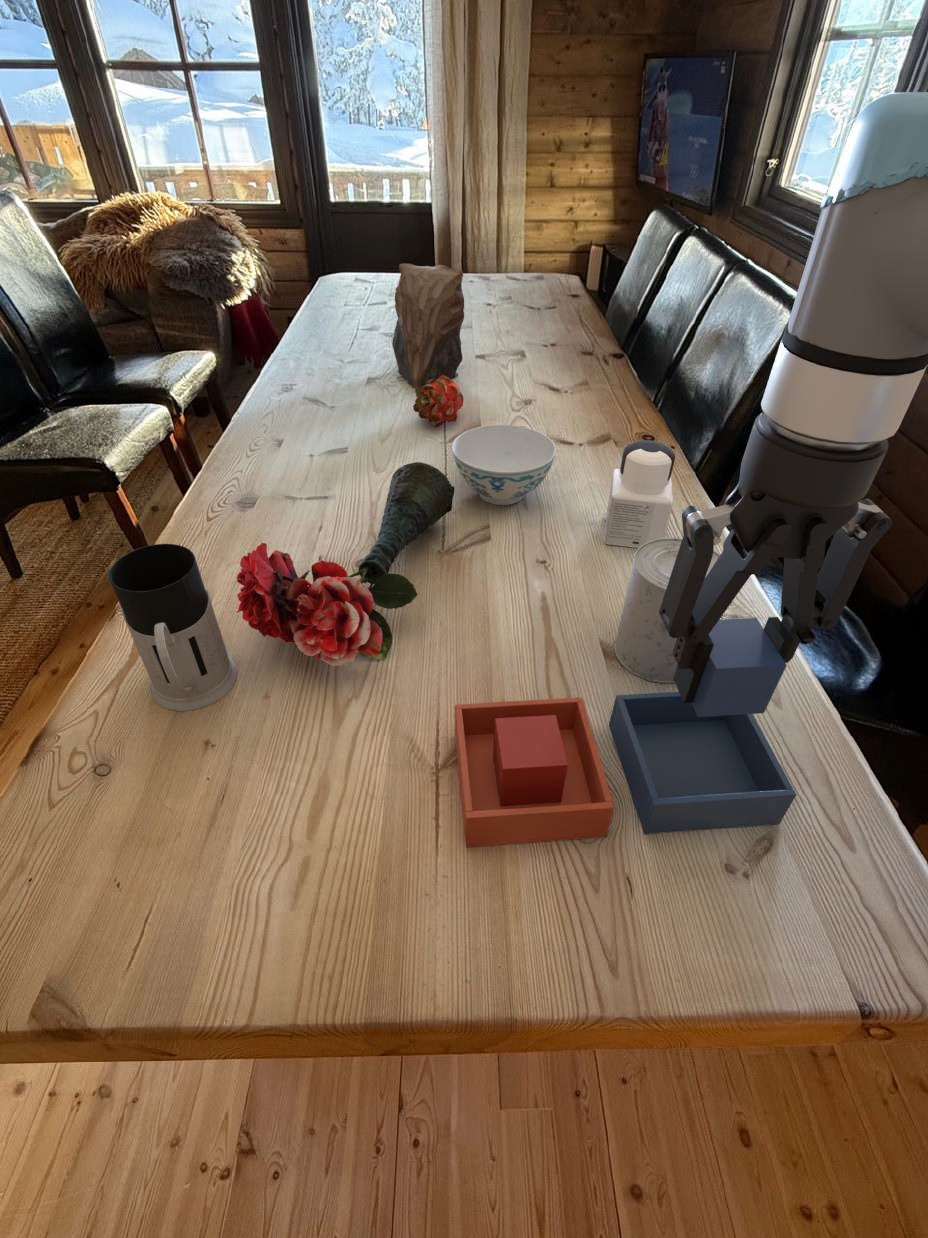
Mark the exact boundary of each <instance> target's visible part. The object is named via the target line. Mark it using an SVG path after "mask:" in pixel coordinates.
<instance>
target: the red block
mask: <svg viewBox="0 0 928 1238" xmlns="http://www.w3.org/2000/svg"><path fill="white" fill-rule="evenodd" d="M493 760H494V767H495V774H496V781H497V788H498V795H499V802H500V806H512V805H527V804H542V803H557V802H561V800H562V794H563V789H564V784H565V778H566V773H567V768H568V763H567V759H566V755H565V751H564V746H563V742H562V738H561V734H560V730H559V726H558V722H557V718H556V715H548V716H531V717H513V718H496V719H495V732H494V748H493Z"/></svg>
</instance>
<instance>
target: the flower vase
mask: <svg viewBox="0 0 928 1238" xmlns="http://www.w3.org/2000/svg"><path fill="white" fill-rule="evenodd" d="M455 488H456V487H455V486H453V485H452V484H451V482H450V480H449V478H448V477H447V475H446V474H444V473H443V472H442V471H441V470H440V469H439V468H437V467H436V466H433V465H431V464H428V463H424V462H420V461H416V462H411V463H407V464H404V465H402V466H400V467H399V468H397V469H396V470H395V471H394V472H393V474H392V477H391V479H390V485H389V489H388V493H387V497H386V502H385V506H384V510H383V515H382V519H381V523H380V527H379V528H380V529H379V532H378V535H377V539H376V541H375V542H374V544H373V545H372V546H371V548H370V549H369V553H368V554H367V555H366V556H365V557H364V558H363V560H362V561H361V563H360V565H359V567H358V571H356V572H354V573H352V574H350V575H349V574H348V572H347V571H346V569H345V568H344V567H343V566H342V565H340V564H339V563H337V562H335V561H329V560H328V561H326V560H323V559H321V560H320V561H318V562H315V563H313V564H311V567H310V569H309V570H307V571H305V572H304V573H303V574H302V575H301V576H298V574H297V571H296V568H295V566H294V561H293V559H292V557H291V555H290V553H288V552H283V551H280V550H277V549H275V550H274V551H272V553H271V554H270V556H268V551H267V548H268V544H267V542H261V543H260V544H258V545H257V547H256V548H255V549H252V550H251V552H250V551H249V552H247V555H243V556H242V557H241V559H240V561H239V565H240V572H238V574H237V576H236V582H237V583H238V584H239V585H241V586H242V587H240V592H239V593H237V598H238V601H239V602H240V603H239V605H238V609H237V611H236V614H238V613H240V612H241V613H242V616H241V617H242V620H243V621H245V622H248V626H249V627H250V628H251V629H253V630H256V631H258V633H260V635H261V636H262V637H264V638H265V637H266V636H269V637H270V638H273V639H275V640H276V639H278V638H280V639H281V640H282V641H284V642H285V643H289V644H293V645H296V647H297V649H298V650H299V651H300V652H301V653H303V655H304V656H308V657H313V656H316V658H317V660H318V661H323V662H324V663H326V664H329V666H332V667H334V666H335V667H341V666H343V665H347V664H349V663H353V662H354V661H355V660H356V658H357V655H358V653H359V654H360V655H362V656H363V657H366V658H368V659H372V660H386V659H387V658H388V654H389V652H390V651H391V648H392V645H393V633H392V629H391V626H390V625H389V622H388V621H387V619H386V618H385V617H384V616H383V614H381V613H380V612H379V611H377V610H376V609H374V604H375V605H376V606H378V607H380V608H382V609H387V610H392V609H395V610H396V609H400V608H401V609H402V608H403V607H405V606H407V605H409V604H411V603H412V602H413V601H414V600H415V599H416V598H417V596H418V591H417V590H416V587H415V585H414V584H413V583H412V582H411V581H410V580H409V579H408V578H407V577H406V576H404V575H403V574H402V575H401V574H399V573H395V572H392V573H390V569H391V566H392V565H393V564H394V563H395V560H396V559H397V557H398V555H400V553H401V552H402V551H403V550H404V549H405V548H406V547H407V546H409V544H412V543H413V542H414V541H415V540H416V539H417V538H418V537H420V536H421V535H423V534H424V533H425V532H426V531H428V530H429V529H430V528H431V527H432V526H433V525H435V524H436V523H437V522H438V521H439V520H441V519H442V518H443V517H445V516H446V514H447V513H450V512H452V510H453V500H454V495H455V491H456V489H455ZM310 572H311V575H312V583H311V582H310V581H309V580H307V579H306V578H307V576H308V575H309V573H310ZM357 576H360V578H357ZM363 584H365V585H366V586H365V585H363ZM368 584H369V586H368Z"/></svg>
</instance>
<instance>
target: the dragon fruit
mask: <svg viewBox="0 0 928 1238" xmlns="http://www.w3.org/2000/svg"><path fill="white" fill-rule="evenodd" d="M414 389H415V388H414ZM414 392H415V397H416V398H415V400H414V404H413V406H412V408H413V412H414V413H418V417H419V418H420V419H422V420H427V421H428V423H429V424H431V425H433V426H435V427H439V426H440V425H442V424H443V422H447V423H451V422H452V423H455V422H457V420H458V412H459V410H461V409H462V408H463V405H464V401H465V399H464V395H463V394H462V392H461V389H460V387H459V385H458V384H457V383H456V382H455V380H453V379H449V378H448V377H446V376H440V377H439V378H438V379H435V378H433V379H431V380H429V381H427V382H426V384H425V386H420V387H417V388H416V389H415V390H414Z"/></svg>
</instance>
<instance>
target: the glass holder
mask: <svg viewBox="0 0 928 1238" xmlns="http://www.w3.org/2000/svg"><path fill="white" fill-rule="evenodd" d="M200 571H201V570H200V568H199V565H198V562H197V559H196V556H195V554H194V552H193V551H192V550H191V549H189V548H188V547H186V546H183V545H180V544H175V543H157V544H150V545H146V546H142V547H139V548H137V549H134V550H131V551H129V552H128V553H126V554H124V555H123V556H121V557H120V558H119V559H117V560H116V561H115V562H114V564H113V565H111V567H110V569H109V573H108V578H109V583H110V585H111V586H112V589H113V591H114V594H115V596H116V598H117V600H118V603H119V605H120V607H121V610H122V616H123V619H124V622H125V625H126V626H127V628H128V631H129V634H130V636H131V638H132V640H133V642H134V645H135V647H136V649H137V652H138V654H139V656H140V658H141V662H142V663H143V665H144V667H145V670H146V672H147V674H148V677H149V679H150V682H151V685H150V686H151V687H150V690H151V695H152V698H153V700H154V701H155V702H156V704H157V705H159V706H160V707H162V708H164V709H166V710H168V711H176V712H191V711H195V710H199V709H203V708H207V707H209V706H211V705H213V704H215V703H216V702H218V701H220V700H221V699H223V698H224V697H225V696H226V695H227V694H228V693H229V692H230V691H231V690H232V688H233V687H234V685H235V684H236V681H237V679H238V668H237V665H236V663H235V662H234V660H233V659H232V658H231V657H230V656H229V654H228V650H227V647H226V644H225V641H224V639H223V634H222V632H221V629H220V626H219V622H218V618H217V616H216V612H215V609H214V607H213V604H212V600H211V597H210V593H209V591H208V589H207V588H206V587H205V584H204V580H203V577H202V575H201V572H200Z"/></svg>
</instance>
